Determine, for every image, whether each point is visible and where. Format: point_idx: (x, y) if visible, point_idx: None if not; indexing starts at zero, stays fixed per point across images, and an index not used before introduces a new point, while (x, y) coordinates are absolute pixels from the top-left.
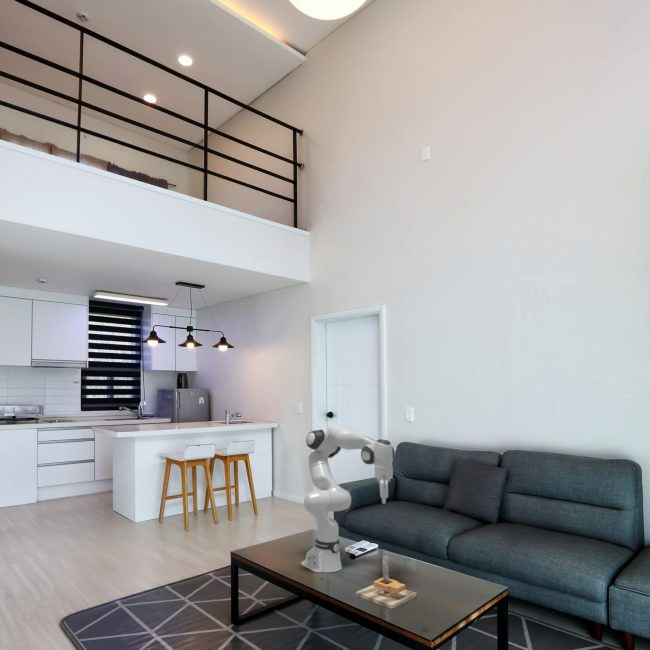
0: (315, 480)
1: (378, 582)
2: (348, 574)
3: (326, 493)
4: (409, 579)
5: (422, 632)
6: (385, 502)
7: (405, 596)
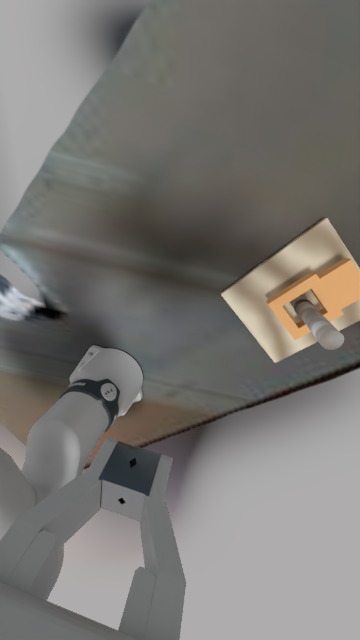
0: None
1: (305, 329)
2: (152, 344)
3: None
4: (194, 207)
5: None
6: (169, 468)
7: (340, 257)
